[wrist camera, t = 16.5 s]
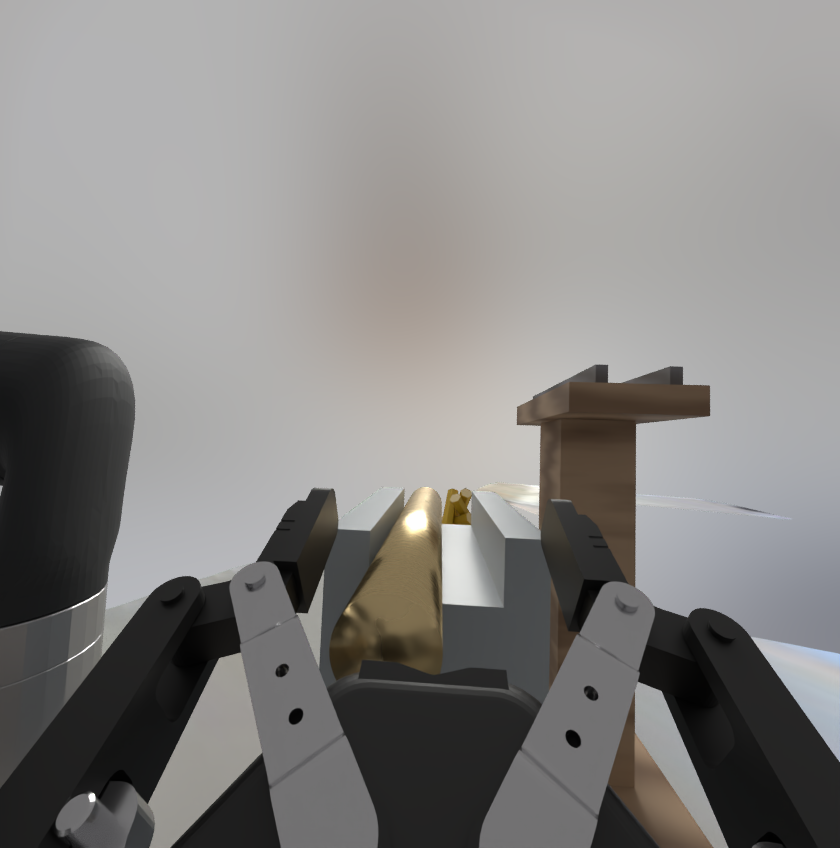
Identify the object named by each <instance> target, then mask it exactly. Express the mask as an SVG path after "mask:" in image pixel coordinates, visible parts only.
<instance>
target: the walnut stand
mask: <svg viewBox="0 0 840 848" xmlns="http://www.w3.org/2000/svg"><path fill="white" fill-rule="evenodd" d="M705 416H710V386H706V385H705V386H704V385H703V386H702V385H683V367H671V366H670V367H667V368H664V369H662V370H658V371H656V372H652V373H649V374H647V375H644V376H641V377H638V378H635V379H632V380H629V381H626V382H623V383H608V365H594V366H592V367H590V368H589V369H586V370H584V371H582V372H580V373H578V374H577V375H575V376H573V377H571V378H569V379H567V380H565V381H563V382H561V383H559V384H557V385H555V386H553V387H551V388H549V389H547V390H545V391H543V392H542V393H539V394H537V395H535V396H534V397H533V400H531V401H529V402H527V403H525V404H522V405H520V406H518V407H517V425H536V426H537V425H538V426H541V442H540V445H541V446H540V495H539V530H540V531H541V528H542V523H543V518H544V513H545V508H546V504H547V501H548V499H561V500H571V502H572V503H573V505H574V507H575V509H576V512H577V514H580V515H587V516H588V517H589V518H590V519H591V520H592V521H593V522H594V523H595V524H596V525H597V526H598V528H599V530H600V532H601V533H602V535H603V539H605V541H606V543H607V545H608V548H609V549H610V550H611V552H612V554H613V556H614V558H615V559H616V561H617V563H618V565H619V567H620V569H621V571H622V573H623V574H624V576H625V578H626V580H627V582H628V584H629V585H631V586H633V587H635V516H636V514H635V512H636V511H635V509H636V508H635V507H636V424H639V423H649V422H659V421H668V420H677V419H687V418H696V417H705ZM578 633H580V632H570V631H568V629H567V626H566V623H565V619H564V616H563V613H562V610H561V607H560V604H559V600H558V597H557V594H556V591H555V588H554V585H553V581H552V578H551V601H550V662H549V690H550V688H551V686H552V684H553V682H554V680H555V678H556V676H557V674H558V672H559V670H560V668H561V666H562V664H563V661H564V659H565V657H566V655H567V653H568V651H569V649H570V647H571V645H572V643H573V641H574V639H575V637H576V635H577V634H578ZM608 784H609V785H610V786H611V788H612V789H613V790H614V791H615V793H616V794H617V795H618V796H619V797H620V799H621V800H622V801H623V802H624V804H625V805H626V806H627V807H628V808H629V810H630V811H631V812H632V813H633V815H634V816H635V817H636V818H637V820H638V821H639V822H640V823H641V824H642V826H643V827H644V828H645V829H646V831H647V832H648V833H649V834H650V835H651V837H652V838H653V839H654V840H655V842H656V843H657V844H658V845H659V847H660V848H713V847H712V845H711V844H710V842H709V841H708V839H707V838H706V836H705V835H704V834H703V832H702V831H701V829H700V828H699V826H698V825H697V823H696V822H695V820H694V819H693V817H692V816H691V814H690V813H689V811H688V810H687V809H686V807H685V806H684V804H683V803H682V801H681V800H680V798H679V797H678V795H677V794H676V792H675V791H674V789H673V788H672V786H671V785H670V784H669V782H668V781H667V779H666V778H665V776H664V775H663V773H662V772H661V770H660V769H659V767H658V766H657V764H656V763H655V762H654V760H653V759H652V757H651V756H650V754H649V753H648V751H647V750H646V748H645V747H644V745H643V744H642V742H641V741H640V739H639V738H638V737H637V735H636V734H635V692H634V696H633V699H632V702H631V706H630V709H629V712H628V716H627V719H626V722H625V726H624V729H623V733H622V736H621V739H620V743H619V746H618V749H617V753H616V756H615V759H614V763H613V766H612V770H611V773H610V776H609V780H608Z"/></svg>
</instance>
